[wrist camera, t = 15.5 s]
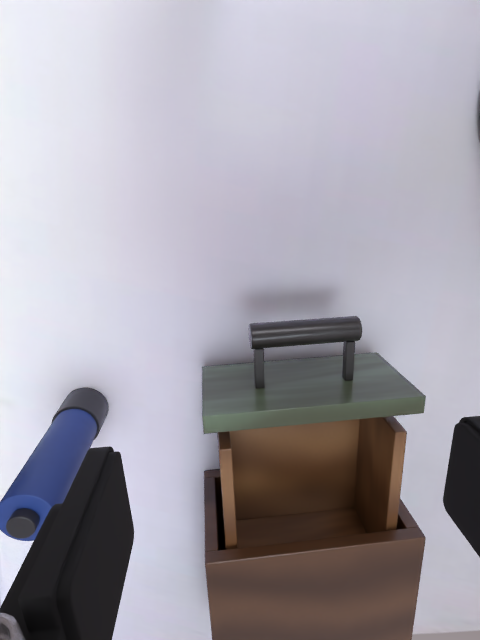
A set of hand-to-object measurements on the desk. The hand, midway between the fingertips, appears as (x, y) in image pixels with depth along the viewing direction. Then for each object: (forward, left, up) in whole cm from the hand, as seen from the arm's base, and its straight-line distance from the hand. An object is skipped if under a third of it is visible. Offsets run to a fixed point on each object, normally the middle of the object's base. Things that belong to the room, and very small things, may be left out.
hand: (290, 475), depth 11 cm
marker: (+2, -14, -19) cm, 24 cm away
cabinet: (+22, -6, -19) cm, 30 cm away
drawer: (+11, -1, -18) cm, 21 cm away
